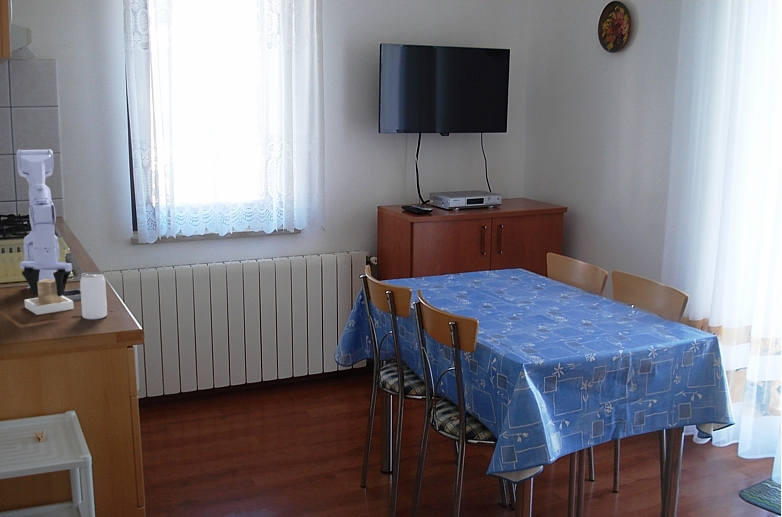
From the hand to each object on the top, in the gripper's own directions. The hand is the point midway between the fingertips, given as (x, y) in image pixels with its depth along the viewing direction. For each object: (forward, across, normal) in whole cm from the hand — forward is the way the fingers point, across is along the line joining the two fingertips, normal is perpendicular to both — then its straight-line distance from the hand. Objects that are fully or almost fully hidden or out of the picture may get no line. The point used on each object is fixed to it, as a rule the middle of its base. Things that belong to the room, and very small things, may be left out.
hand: (48, 294), depth 224 cm
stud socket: (+5, 0, +12) cm, 13 cm away
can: (+5, +16, -3) cm, 17 cm away
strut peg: (+4, 0, 0) cm, 4 cm away
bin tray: (+5, 0, 0) cm, 5 cm away
